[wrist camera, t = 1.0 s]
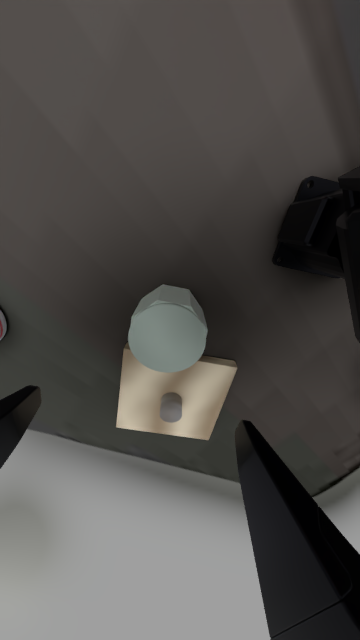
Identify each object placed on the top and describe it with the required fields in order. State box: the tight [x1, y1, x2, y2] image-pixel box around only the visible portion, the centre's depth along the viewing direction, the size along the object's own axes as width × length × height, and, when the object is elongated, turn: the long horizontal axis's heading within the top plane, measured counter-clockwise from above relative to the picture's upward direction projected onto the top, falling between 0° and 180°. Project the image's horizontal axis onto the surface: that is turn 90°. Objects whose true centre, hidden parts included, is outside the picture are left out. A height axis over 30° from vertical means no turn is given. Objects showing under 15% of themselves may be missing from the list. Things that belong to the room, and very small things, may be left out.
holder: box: [116, 343, 237, 440], centre depth 23 cm, size 12×12×3 cm
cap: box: [128, 284, 208, 373], centre depth 18 cm, size 6×6×5 cm
